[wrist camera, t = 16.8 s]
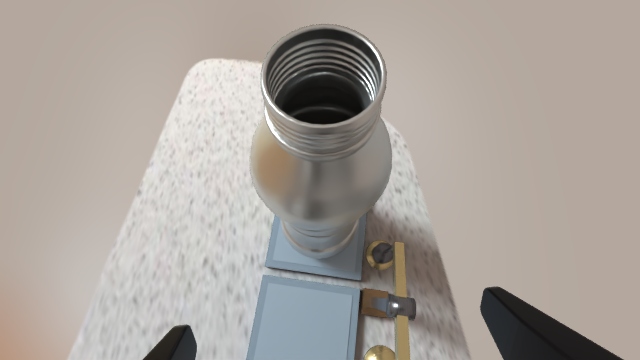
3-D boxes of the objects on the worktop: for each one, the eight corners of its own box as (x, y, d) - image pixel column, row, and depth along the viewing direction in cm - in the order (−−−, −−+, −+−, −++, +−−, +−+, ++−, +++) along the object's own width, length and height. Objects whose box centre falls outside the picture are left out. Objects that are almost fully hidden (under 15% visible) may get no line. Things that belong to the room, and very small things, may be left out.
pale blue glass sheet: (348, 410, 23) (349, 413, 22) (241, 392, 23) (238, 395, 22) (359, 289, 26) (360, 289, 25) (264, 274, 26) (262, 274, 25)
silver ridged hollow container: (365, 204, 28) (464, 21, 9) (339, 274, 25) (400, 225, 7) (302, 179, 29) (272, -35, 10) (271, 245, 26) (158, 131, 8)
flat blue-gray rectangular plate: (359, 280, 26) (361, 280, 25) (266, 266, 26) (264, 266, 26) (367, 187, 29) (369, 184, 28) (283, 175, 29) (283, 173, 29)
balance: (383, 371, 24) (430, 429, 14) (353, 367, 24) (378, 420, 14) (390, 245, 27) (431, 219, 17) (364, 242, 27) (390, 213, 17)
